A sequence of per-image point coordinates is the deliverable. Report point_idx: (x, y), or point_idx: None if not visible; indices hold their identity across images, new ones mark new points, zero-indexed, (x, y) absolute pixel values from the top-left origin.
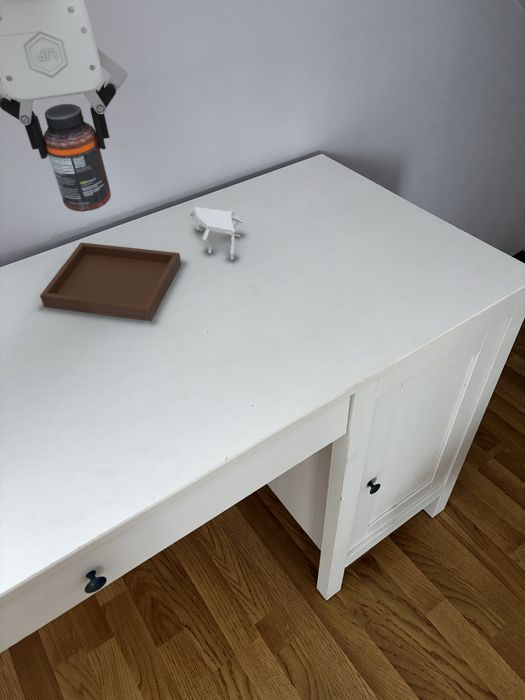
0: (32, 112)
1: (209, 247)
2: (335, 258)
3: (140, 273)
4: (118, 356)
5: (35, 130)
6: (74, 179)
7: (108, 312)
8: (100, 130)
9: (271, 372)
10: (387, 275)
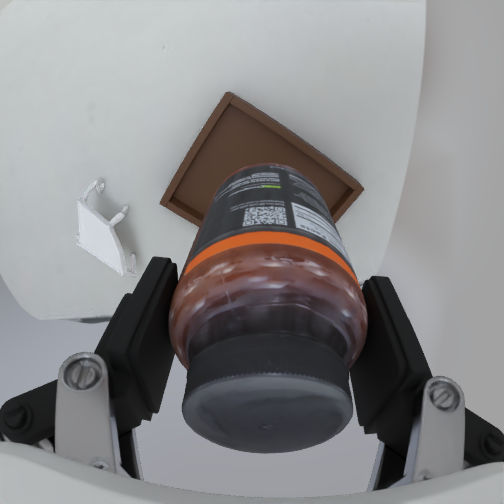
0: (389, 432)
1: (123, 212)
2: (11, 149)
3: None
4: (288, 43)
5: (411, 352)
6: (296, 195)
7: (283, 126)
8: (133, 301)
9: None
10: None
